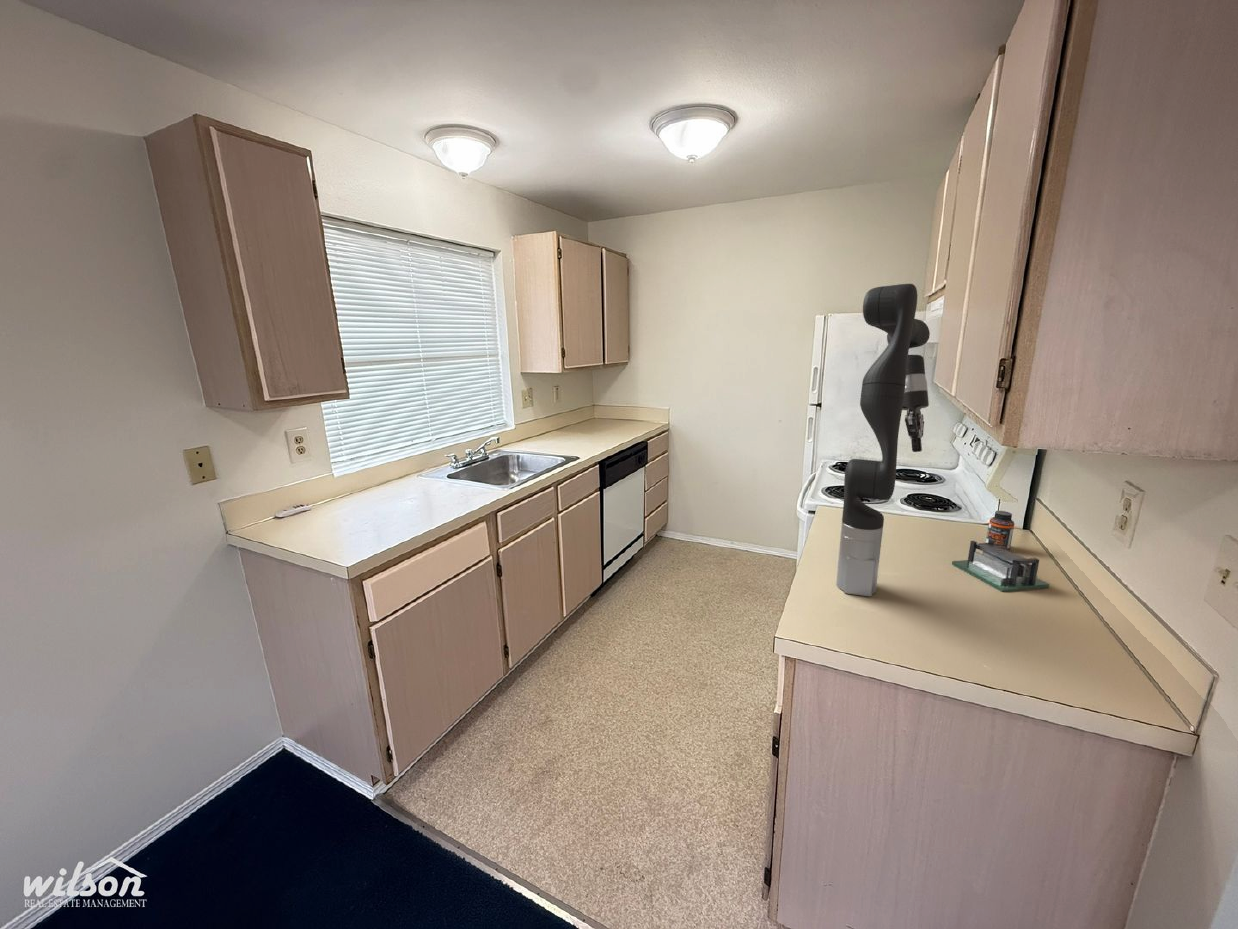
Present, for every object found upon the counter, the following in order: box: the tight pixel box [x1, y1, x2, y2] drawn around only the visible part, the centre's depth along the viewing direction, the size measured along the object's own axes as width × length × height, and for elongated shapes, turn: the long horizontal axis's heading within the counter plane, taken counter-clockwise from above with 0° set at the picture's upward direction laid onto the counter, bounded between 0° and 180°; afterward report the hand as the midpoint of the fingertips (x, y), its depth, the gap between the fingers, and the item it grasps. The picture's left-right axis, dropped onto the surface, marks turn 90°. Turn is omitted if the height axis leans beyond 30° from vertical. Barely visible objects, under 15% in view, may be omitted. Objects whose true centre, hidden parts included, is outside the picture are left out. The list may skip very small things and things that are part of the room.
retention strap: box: [976, 542, 1029, 564], centre depth 129 cm, size 1×4×13 cm
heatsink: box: [951, 539, 1050, 593], centre depth 130 cm, size 16×13×8 cm
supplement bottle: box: [985, 510, 1015, 552], centre depth 146 cm, size 6×6×11 cm
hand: (917, 451), depth 141 cm, fingers closed
